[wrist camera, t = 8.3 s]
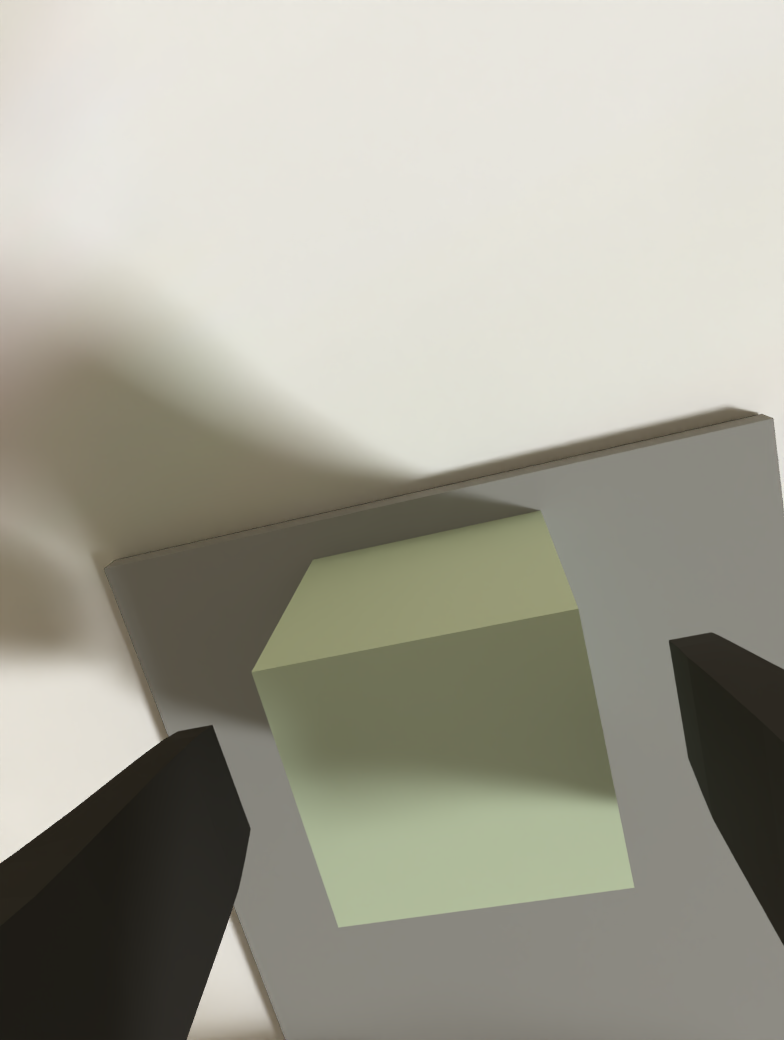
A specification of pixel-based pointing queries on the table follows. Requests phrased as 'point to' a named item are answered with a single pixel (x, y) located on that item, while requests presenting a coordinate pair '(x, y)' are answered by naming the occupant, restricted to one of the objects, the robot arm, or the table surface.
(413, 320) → the table surface
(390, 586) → the sage block
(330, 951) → the mat
